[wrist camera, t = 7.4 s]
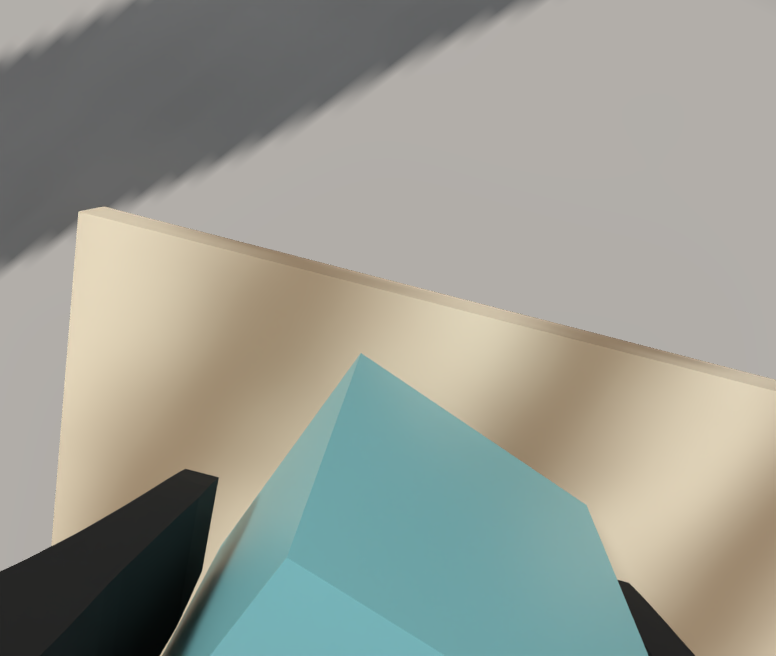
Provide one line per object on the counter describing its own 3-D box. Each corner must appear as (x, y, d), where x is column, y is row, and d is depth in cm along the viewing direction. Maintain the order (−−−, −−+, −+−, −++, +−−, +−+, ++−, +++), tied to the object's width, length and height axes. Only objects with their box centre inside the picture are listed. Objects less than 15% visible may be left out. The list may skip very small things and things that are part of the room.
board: (965, 428, 13) (1255, 585, 9) (713, 839, 18) (815, 1095, 13) (104, 206, 13) (-78, 242, 9) (59, 671, 18) (-78, 867, 13)
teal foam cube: (586, 505, 11) (717, 824, 6) (426, 671, 13) (418, 1046, 8) (360, 352, 11) (286, 556, 6) (221, 545, 12) (56, 852, 7)
